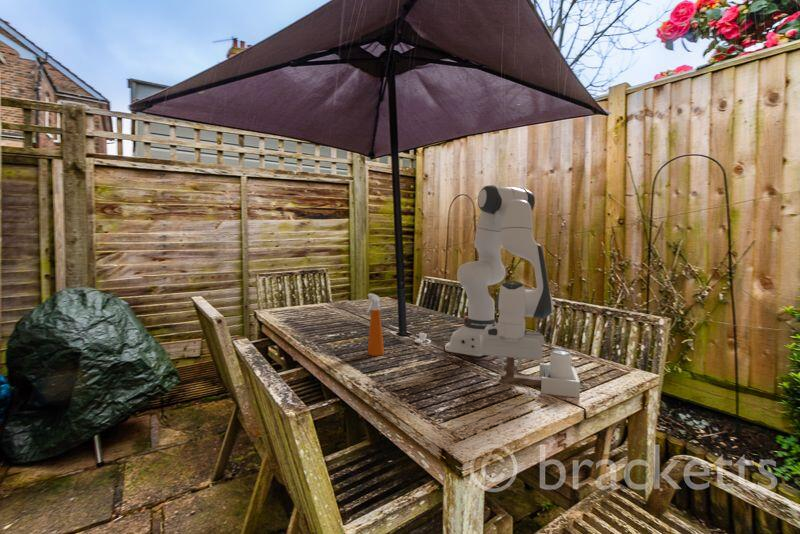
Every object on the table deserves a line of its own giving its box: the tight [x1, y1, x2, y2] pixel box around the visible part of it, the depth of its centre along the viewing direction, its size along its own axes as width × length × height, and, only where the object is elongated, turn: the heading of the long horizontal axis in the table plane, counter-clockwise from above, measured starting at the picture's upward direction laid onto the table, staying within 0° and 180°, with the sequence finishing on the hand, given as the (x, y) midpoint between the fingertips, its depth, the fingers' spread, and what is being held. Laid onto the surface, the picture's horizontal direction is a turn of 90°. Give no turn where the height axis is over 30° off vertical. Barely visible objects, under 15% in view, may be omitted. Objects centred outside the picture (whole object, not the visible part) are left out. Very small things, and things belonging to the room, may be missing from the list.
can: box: [549, 348, 573, 380], centre depth 121 cm, size 6×6×12 cm
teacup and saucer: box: [414, 332, 432, 345], centre depth 174 cm, size 9×8×4 cm
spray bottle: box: [365, 292, 385, 357], centre depth 154 cm, size 7×11×26 cm, turn 155°
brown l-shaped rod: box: [500, 357, 550, 387], centre depth 125 cm, size 16×8×9 cm, turn 71°
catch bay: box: [538, 362, 581, 399], centre depth 122 cm, size 11×14×5 cm
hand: (510, 369), depth 126 cm, fingers open, 3 cm apart
